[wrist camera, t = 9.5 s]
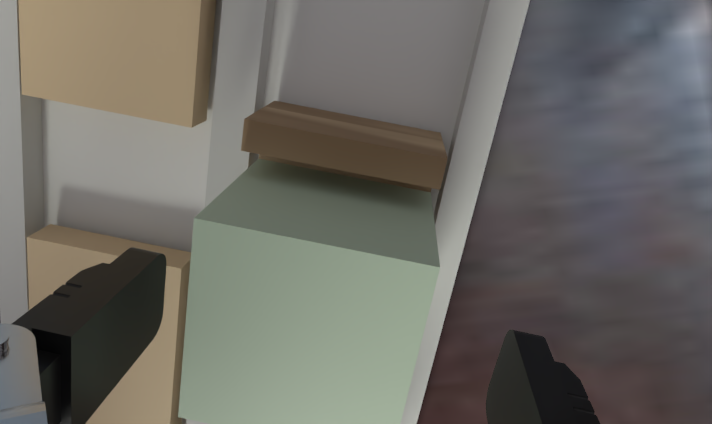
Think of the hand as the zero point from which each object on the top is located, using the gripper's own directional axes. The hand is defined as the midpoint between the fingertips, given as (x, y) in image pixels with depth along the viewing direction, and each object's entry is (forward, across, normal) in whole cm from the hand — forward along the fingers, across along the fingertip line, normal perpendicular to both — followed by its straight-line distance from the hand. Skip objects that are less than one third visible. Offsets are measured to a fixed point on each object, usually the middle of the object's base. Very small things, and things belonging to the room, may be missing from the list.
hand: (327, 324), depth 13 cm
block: (+4, 0, 0) cm, 4 cm away
